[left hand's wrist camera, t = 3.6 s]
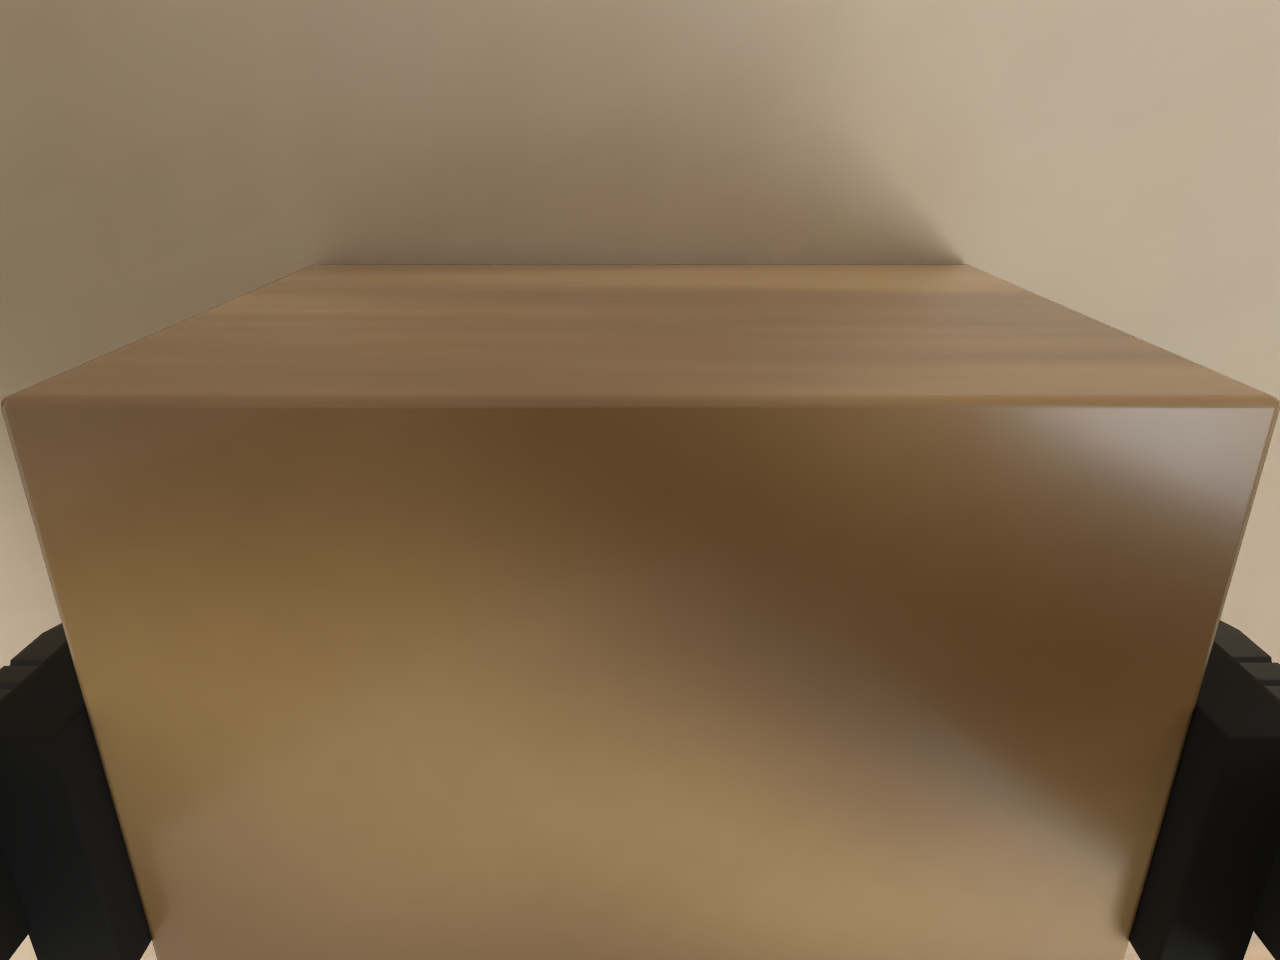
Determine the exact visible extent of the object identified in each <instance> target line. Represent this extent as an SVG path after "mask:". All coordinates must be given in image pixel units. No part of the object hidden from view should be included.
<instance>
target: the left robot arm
mask: <svg viewBox="0 0 1280 960" xmlns="http://www.w3.org/2000/svg"><path fill="white" fill-rule="evenodd" d="M1253 931H1254V932H1255V933H1256V935H1257V936H1258V937H1259V939H1260V940H1261V941H1262V943H1263V944H1264V945H1265V947H1266V948H1267V949H1268V950H1269V952H1270V953H1271V954H1272V956H1273V957H1274V958H1275V960H1280V664H1279V663H1272V661H1271V657H1270V656H1269V655H1268V654H1267V653H1266V652H1264V651H1263V650H1262V649H1261V648H1260V647H1258V646H1257V645H1256V644H1255V643H1254V642H1253V641H1251V640H1250V639H1249V638H1248V637H1247V636H1245V635H1244V634H1243V633H1242V632H1241V631H1240V630H1238V629H1236V628H1234V627H1232V626H1230V625H1228V624H1226V623H1224V622H1222V621H1219V624H1218V628H1217V631H1216V635H1215V638H1214V642H1213V645H1212V649H1211V652H1210V656H1209V659H1208V663H1207V666H1206V670H1205V673H1204V677H1203V680H1202V684H1201V687H1200V691H1199V694H1198V698H1197V702H1196V705H1195V709H1194V712H1193V716H1192V719H1191V723H1190V726H1189V730H1188V733H1187V737H1186V740H1185V744H1184V747H1183V751H1182V754H1181V758H1180V761H1179V765H1178V768H1177V772H1176V775H1175V779H1174V783H1173V786H1172V790H1171V793H1170V797H1169V800H1168V804H1167V807H1166V811H1165V814H1164V818H1163V821H1162V825H1161V828H1160V832H1159V835H1158V839H1157V842H1156V846H1155V849H1154V853H1153V856H1152V860H1151V864H1150V867H1149V871H1148V874H1147V878H1146V881H1145V885H1144V888H1143V892H1142V895H1141V899H1140V902H1139V906H1138V909H1137V913H1136V916H1135V920H1134V923H1133V927H1132V930H1131V934H1130V937H1129V941H1130V943H1131V944H1132V946H1133V948H1134V949H1135V951H1136V953H1137V954H1138V956H1139V958H1140V959H1141V960H1243V959H1244V956H1245V953H1246V950H1247V947H1248V945H1249V942H1250V939H1251V936H1252V933H1253ZM28 934H29V937H30V940H31V942H32V945H33V948H34V951H35V954H36V957H37V959H38V960H140V959H141V957H142V955H143V954H144V952H145V950H146V949H147V947H148V945H149V944H150V942H151V940H152V938H151V935H150V931H149V928H148V924H147V921H146V917H145V913H144V910H143V906H142V903H141V899H140V896H139V892H138V889H137V885H136V882H135V878H134V875H133V871H132V868H131V864H130V861H129V857H128V853H127V850H126V846H125V843H124V839H123V836H122V832H121V829H120V825H119V822H118V818H117V815H116V811H115V808H114V804H113V801H112V797H111V793H110V790H109V786H108V783H107V779H106V776H105V772H104V769H103V765H102V762H101V758H100V755H99V751H98V748H97V744H96V741H95V737H94V734H93V730H92V726H91V723H90V719H89V716H88V712H87V709H86V705H85V702H84V698H83V695H82V691H81V688H80V684H79V681H78V677H77V674H76V670H75V666H74V663H73V659H72V656H71V652H70V649H69V645H68V642H67V638H66V635H65V631H64V628H63V624H62V623H61V624H59V625H57V626H55V627H53V628H52V629H50V630H48V631H46V632H44V633H42V634H41V635H40V636H39V637H37V638H36V639H35V640H34V641H33V642H32V643H30V644H29V645H28V646H27V647H26V648H25V649H23V650H22V651H21V652H20V653H19V654H18V655H16V656H15V657H14V658H13V659H12V660H11V663H10V666H3V667H2V668H1V669H0V960H9V959H10V958H11V956H12V955H13V954H14V952H15V951H16V950H17V948H18V947H19V946H20V944H21V943H22V942H23V940H24V939H25V938H26V936H27V935H28Z"/></svg>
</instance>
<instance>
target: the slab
mask: <svg viewBox="0 0 1280 960" xmlns="http://www.w3.org/2000/svg"><path fill="white" fill-rule="evenodd" d="M1 409H2V412H3V416H4V420H5V423H6V427H7V430H8V434H9V437H10V441H11V444H12V448H13V451H14V455H15V458H16V462H17V465H18V469H19V472H20V476H21V479H22V483H23V487H24V490H25V494H26V497H27V501H28V504H29V508H30V511H31V515H32V518H33V522H34V525H35V529H36V532H37V536H38V539H39V543H40V547H41V550H42V554H43V557H44V561H45V564H46V568H47V571H48V575H49V578H50V582H51V585H52V589H53V592H54V596H55V599H56V603H57V607H58V610H59V614H60V617H61V621H62V624H63V628H64V631H65V635H66V638H67V642H68V645H69V649H70V652H71V656H72V659H73V663H74V666H75V670H76V674H77V677H78V681H79V684H80V688H81V691H82V695H83V698H84V702H85V705H86V709H87V712H88V716H89V719H90V723H91V726H92V730H93V734H94V737H95V741H96V744H97V748H98V751H99V755H100V758H101V762H102V765H103V769H104V772H105V776H106V779H107V783H108V786H109V790H110V793H111V797H112V801H113V804H114V808H115V811H116V815H117V818H118V822H119V825H120V829H121V832H122V836H123V839H124V843H125V846H126V850H127V853H128V857H129V861H130V864H131V868H132V871H133V875H134V878H135V882H136V885H137V889H138V892H139V896H140V899H141V903H142V906H143V910H144V913H145V917H146V921H147V924H148V928H149V931H150V935H151V938H152V942H153V945H154V949H155V952H156V956H157V959H158V960H1123V959H1124V955H1125V952H1126V948H1127V945H1128V941H1129V937H1130V934H1131V930H1132V927H1133V923H1134V920H1135V916H1136V913H1137V909H1138V906H1139V902H1140V899H1141V895H1142V892H1143V888H1144V885H1145V881H1146V878H1147V874H1148V871H1149V867H1150V864H1151V860H1152V856H1153V853H1154V849H1155V846H1156V842H1157V839H1158V835H1159V832H1160V828H1161V825H1162V821H1163V818H1164V814H1165V811H1166V807H1167V804H1168V800H1169V797H1170V793H1171V790H1172V786H1173V783H1174V779H1175V775H1176V772H1177V768H1178V765H1179V761H1180V758H1181V754H1182V751H1183V747H1184V744H1185V740H1186V737H1187V733H1188V730H1189V726H1190V723H1191V719H1192V716H1193V712H1194V709H1195V705H1196V702H1197V698H1198V694H1199V691H1200V687H1201V684H1202V680H1203V677H1204V673H1205V670H1206V666H1207V663H1208V659H1209V656H1210V652H1211V649H1212V645H1213V642H1214V638H1215V635H1216V631H1217V628H1218V624H1219V621H1220V617H1221V613H1222V610H1223V606H1224V603H1225V599H1226V596H1227V592H1228V589H1229V585H1230V582H1231V578H1232V575H1233V571H1234V568H1235V564H1236V561H1237V557H1238V554H1239V550H1240V547H1241V543H1242V540H1243V536H1244V532H1245V529H1246V525H1247V522H1248V518H1249V515H1250V511H1251V508H1252V504H1253V501H1254V497H1255V494H1256V490H1257V487H1258V483H1259V480H1260V476H1261V473H1262V469H1263V466H1264V462H1265V459H1266V455H1267V451H1268V448H1269V444H1270V441H1271V437H1272V434H1273V430H1274V427H1275V423H1276V420H1277V416H1278V413H1279V409H1280V405H1279V401H1278V399H1277V398H1275V397H1273V396H1271V395H1268V394H1266V393H1264V392H1261V391H1259V390H1257V389H1254V388H1252V387H1250V386H1247V385H1245V384H1243V383H1240V382H1238V381H1236V380H1233V379H1231V378H1229V377H1226V376H1224V375H1222V374H1220V373H1217V372H1215V371H1213V370H1210V369H1208V368H1206V367H1203V366H1201V365H1199V364H1196V363H1194V362H1192V361H1189V360H1187V359H1185V358H1182V357H1180V356H1178V355H1175V354H1173V353H1171V352H1168V351H1166V350H1164V349H1161V348H1159V347H1157V346H1155V345H1152V344H1150V343H1148V342H1145V341H1143V340H1141V339H1138V338H1136V337H1134V336H1131V335H1129V334H1127V333H1124V332H1122V331H1120V330H1117V329H1115V328H1113V327H1110V326H1108V325H1106V324H1103V323H1101V322H1099V321H1096V320H1094V319H1092V318H1090V317H1087V316H1085V315H1083V314H1080V313H1078V312H1076V311H1073V310H1071V309H1069V308H1066V307H1064V306H1062V305H1059V304H1057V303H1055V302H1052V301H1050V300H1048V299H1045V298H1043V297H1041V296H1038V295H1036V294H1034V293H1031V292H1029V291H1027V290H1025V289H1022V288H1020V287H1018V286H1015V285H1013V284H1011V283H1008V282H1006V281H1004V280H1001V279H999V278H997V277H994V276H992V275H990V274H987V273H985V272H983V271H980V270H978V269H976V268H973V267H971V266H969V265H312V266H309V267H307V268H305V269H303V270H300V271H298V272H296V273H293V274H291V275H289V276H286V277H284V278H282V279H279V280H277V281H275V282H272V283H270V284H268V285H265V286H263V287H261V288H258V289H256V290H254V291H251V292H249V293H247V294H245V295H242V296H240V297H238V298H235V299H233V300H231V301H228V302H226V303H224V304H221V305H219V306H217V307H214V308H212V309H210V310H207V311H205V312H203V313H200V314H198V315H196V316H194V317H191V318H189V319H187V320H184V321H182V322H180V323H177V324H175V325H173V326H170V327H168V328H166V329H163V330H161V331H159V332H156V333H154V334H152V335H149V336H147V337H145V338H143V339H140V340H138V341H136V342H133V343H131V344H129V345H126V346H124V347H122V348H119V349H117V350H115V351H112V352H110V353H108V354H105V355H103V356H101V357H98V358H96V359H94V360H92V361H89V362H87V363H85V364H82V365H80V366H78V367H75V368H73V369H71V370H68V371H66V372H64V373H61V374H59V375H57V376H54V377H52V378H50V379H47V380H45V381H43V382H41V383H38V384H36V385H34V386H31V387H29V388H27V389H24V390H22V391H20V392H17V393H15V394H13V395H10V396H8V397H6V398H4V399H3V401H2V406H1Z"/></svg>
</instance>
